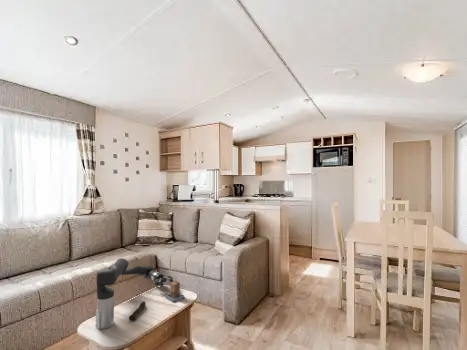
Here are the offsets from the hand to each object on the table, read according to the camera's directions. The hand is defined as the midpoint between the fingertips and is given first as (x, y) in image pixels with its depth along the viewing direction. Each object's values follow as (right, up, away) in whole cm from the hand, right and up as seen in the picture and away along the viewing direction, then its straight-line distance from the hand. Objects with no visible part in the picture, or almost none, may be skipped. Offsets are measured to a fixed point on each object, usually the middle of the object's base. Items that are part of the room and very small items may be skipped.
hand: (167, 283), depth 198 cm
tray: (+7, -8, -8) cm, 13 cm away
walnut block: (+7, -7, -8) cm, 13 cm away
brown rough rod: (-12, -8, -29) cm, 33 cm away
